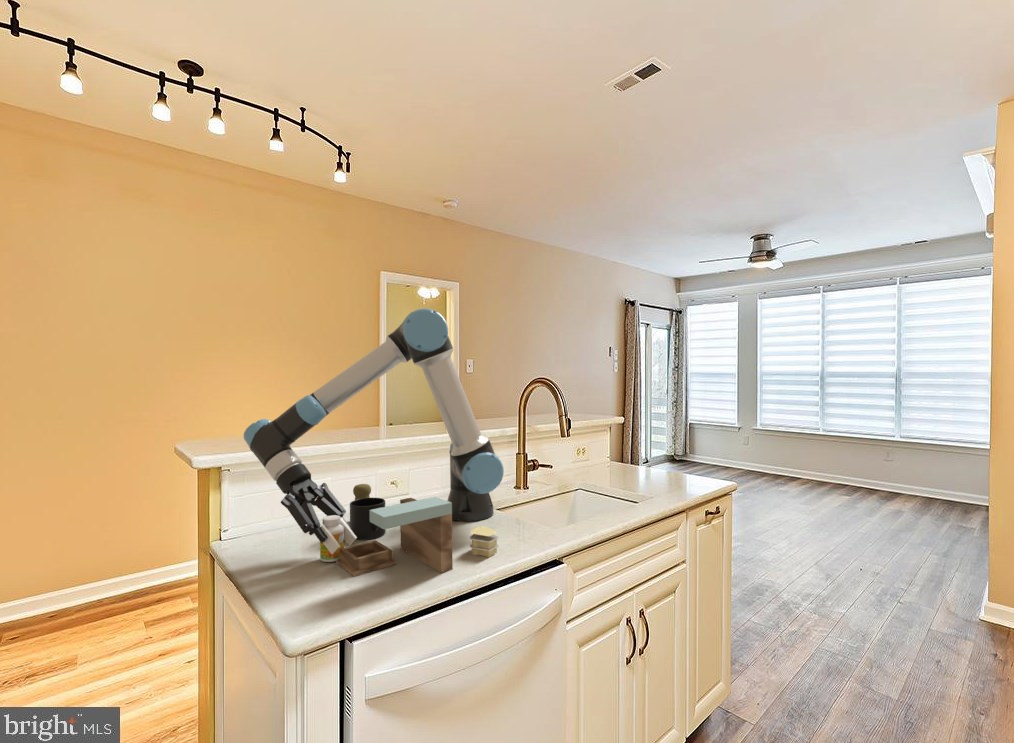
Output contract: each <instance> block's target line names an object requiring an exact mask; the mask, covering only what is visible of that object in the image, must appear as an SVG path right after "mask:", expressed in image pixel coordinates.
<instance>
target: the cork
mask: <svg viewBox="0 0 1014 743" xmlns="http://www.w3.org/2000/svg"><path fill="white" fill-rule="evenodd" d="M352 493H353V495H354V500H357V499H362V498H371V497H370V494H372V487H371V486H370V484H368V483H359V484H356V485H354V487H353V490H352Z"/></svg>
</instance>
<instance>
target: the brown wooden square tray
mask: <svg viewBox="0 0 1014 743" xmlns="http://www.w3.org/2000/svg"><path fill="white" fill-rule="evenodd" d="M393 558H394V556H393V549H391V548H390V547H388V546H386V545H384V544H382V543H381V542H380V541H378V540H376V539H375V540H374V539H373V540H371V541H367V542H362V543H359V544H355V545H349V546H346V547H344V548H342V549H340V559H337V561H336V563H337V565H339V566H340V567H341V568H343V570H345V571H346V572H348V573H349V574H350V575H351V576H352V577H356V576H360V575H363V574H367V573H370V572H374V571H378V570H380V569H385V568H388V567H390V566H392V567H393V566H395V565H396V562H397V561H396V560H395V559H393Z"/></svg>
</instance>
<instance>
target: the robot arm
mask: <svg viewBox="0 0 1014 743" xmlns="http://www.w3.org/2000/svg"><path fill="white" fill-rule="evenodd" d="M453 352H454V347H453V345H452V342H451V340H450V337H449V326H448V323H447V320H446V319H445V318H444V316H443V315H442V314H441V313H440V312H438V311H436V310H434V309H431V308H420V309H415V310H414V311H413V310H412V311H411V312H410V313H409V314H407V316H406V317H405V318H404V320H403V321H402V322H401V324H400V325H399V326H398V327H397V328H396V329H395V330H394V331H392V332H390V334H388V335H387V336H386V338H385V341H384V342H383V343H381V344H380V345H378V346H377V347H376V348H375V349H373V350H371V351H370V352H368V354H365V355H364V356H363V357H361V358H360V359H358V360H357V361H355V363H353V364H351V365H350V366H349V367H347V368H346V369H345V370H343V371H342V372H340V373H339V374H338V375H336V376H334V377H332V378H331V379H330V380H329V381H328V382H326V383H325V384H323V385H321V386H320V387H319V388H317V389H316V390H315V391H313V392H312V393H310V394H308V395H305V396H304V397H302V398H300V399H298V400H297V401H296V402H295V403H294V404H293V405H291V406H290V407H289V408H288V409H286V410H285V411H284V412H283V413H281V414H280V415H279V416H278V417H277V418H275V419H274V420H272V421H271V420H270V419H267V418H262V419H258V420H257V421H255V422H252V423H251V424H250V425H249V426H247V428H246V429H245V430H244V432H243V440H244V441H245V443H246V444H247V446H248V448H249V449H250V451H251V452H252V454H253V455H254V456H255V457H256V458H257V459H258V461H259V462H260V463H261V464H262V466H263V467H264V469H265V470H266V472H267V473H268V474H269V476H270V477H271V478H272V479H273V481H274V482H276V483H275V484H276V485H277V487H278V488H279V490H280V491H281V492H282V494H285V496H284V497H283V498H282V499H281V500H280V504H281V505H282V506H283V507H284V508H286V509H287V510H288V512H289V513H290V516H292V519H294V521H295V522H296V524H297V525H298V526H299V528H300V529H301V530H302V532H303V533H304V534H307V533H308V534H309V536H313V535H314V536H316V538H317V540H318V541H319V543H320V542H322V543H323V544H324V545H325V546H326V548H327V549H328V550H329V552H330V553H331V554H334V553H335V552H336V551H337V550H338V548H339V547H340V545H339V543H338V542H337V541H336V540H335V538H334V537H333V536H332V534H331V533H330V532H329V530H328V529H327V528H326V526H325V525H323V524H322V525H321V522H320V520H319V518H318V516H317V514H316V511H315V509H314V507H317V508H318V509H319V510H320V511H321V512H322V513H323V514H324V515H326V516H331V515H338V516H340V520H341V522H340V525H342V526H343V528H344V542H345V543H346V544H347V545H348V546H352V544H353V543H354V542H355V541H356V540H357V539H356V538H357V537H356V535H355V534H354V533H353V531H352V530H351V529H350V524H349V523H348V522H347V521H346V520H345V518H344V515H345V514H346V513H347V510H346V508H345V507H344V506H343V505H342V504H341V503H340V501H339V500H338V498H336V496H335V495H334V494H333V492H332V491H331V490H330V489H329V486H328V484H327V483H326V482H322V484H317V483H316V482H314V481H313V480H312V473H311V472H310V470H309V468H307V467H306V465H305V464H304V463H303V462H302V461H303V460H301V458H300V457H299V456H298V454H297V453H296V452H295V451H294V449H292V447H291V445H292V444H294V443H295V442H296V441H297V440H298V439H300V437H301V438H302V436H304V435H305V434H306V433H308V432H309V431H310V430H311V429H312V428H314V427H315V426H317V425H318V424H319V423H320V422H321V421H322V420H324V419H325V418H326V417H327V416H328V415H330V414H331V413H332V412H334V411H335V410H336V409H338V408H339V407H340V406H342V405H344V404H345V403H346V402H347V401H348V400H350V399H352V398H354V396H356V395H357V394H359V393H360V392H362V391H363V390H364V389H366V388H367V387H369V386H370V385H371V384H372V383H375V382H376V381H377V380H378V379H380V378H381V377H382V376H384V375H385V374H386V373H388V372H390V371H391V370H392V369H394V368H395V367H396V366H398V365H399V364H401V363H407V362H409V361H411V360H412V362H413V364H414V365H415V366H417V367H418V368H419V367H420V368H421V370H422V372H423V374H424V377H425V379H426V381H427V384H428V387H429V389H430V391H431V392H430V393H431V394H432V396H433V397H432V398H433V400H434V401H435V404H436V406H437V409H438V411H439V415H440V416H441V419H442V422H443V424H444V426H445V429H446V431H447V434H448V437H449V439H450V441H451V443H450V445H449V451H448V452H449V468H450V469H449V471H450V472H449V474H450V478H449V480H450V484H449V486H450V487H449V488H450V490H449V494H448V498H447V500H446V501H449V502H451V503H452V521H457V522H459V521H460V522H474V521H481V520H485V519H488V518H491V517H492V516H493V515H494V513H495V512H494V505H493V502H492V498H491V495H490V493H491V492H493V491H494V490H495V489H497V488H498V486H500V484H501V482H502V480H503V478H504V464H503V462H502V461H501V459H500V458H499V456H497V455H496V453H495V450H494V449H493V446H492V442H491V441H490V438H489V437H487V436H486V435H483V434H482V432H481V430H480V427H479V425H478V422H477V420H476V417H475V414H474V412H473V410H472V407H471V405H470V401H469V400H468V397H467V395H466V392H465V390H464V387H463V385H462V382H461V380H460V377H459V374H458V372H457V369H456V366H455V364H454V362H453V359H452V353H453Z"/></svg>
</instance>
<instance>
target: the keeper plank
mask: <svg viewBox="0 0 1014 743" xmlns="http://www.w3.org/2000/svg"><path fill="white" fill-rule="evenodd" d="M416 500H417V501H412V502H407V503H402V504H400V503H398V504H393V505H388V506H385V507H382V508H377V509H372V510H370V522H371V523H373V524H375V525H377V526H379V527H380V528H382V529H386V530H387V529H391V528H392V529H393V528H397V527H400V526H401V525H406V524H410V523H414V522H418V521H423V520H427V519H431V518H436V517H440V516H444V515H448V514H452V503H451V502H449V501H447V500H445V499H442V498H439V497H437V496H433V497H427V498H423V499H416Z"/></svg>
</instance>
